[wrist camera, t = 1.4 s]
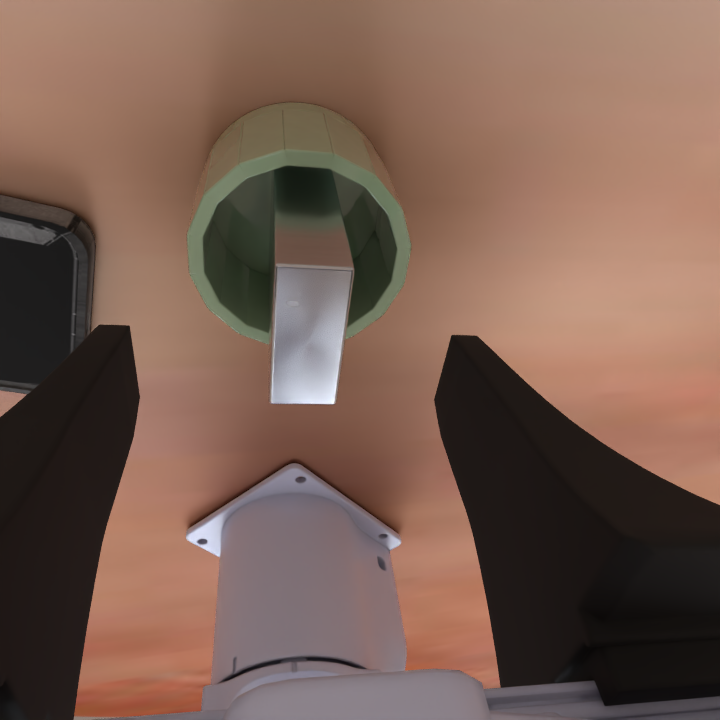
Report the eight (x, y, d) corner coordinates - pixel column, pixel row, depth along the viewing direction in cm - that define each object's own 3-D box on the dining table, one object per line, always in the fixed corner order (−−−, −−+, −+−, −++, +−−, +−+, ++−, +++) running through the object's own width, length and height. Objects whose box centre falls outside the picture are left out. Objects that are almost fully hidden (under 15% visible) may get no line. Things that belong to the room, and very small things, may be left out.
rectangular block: (332, 150, 19) (361, 268, 13) (321, 264, 22) (341, 405, 16) (272, 145, 19) (274, 263, 13) (268, 261, 21) (268, 405, 15)
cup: (421, 206, 22) (450, 268, 18) (289, 306, 24) (292, 379, 20) (304, 56, 18) (313, 96, 15) (160, 188, 20) (138, 252, 17)
